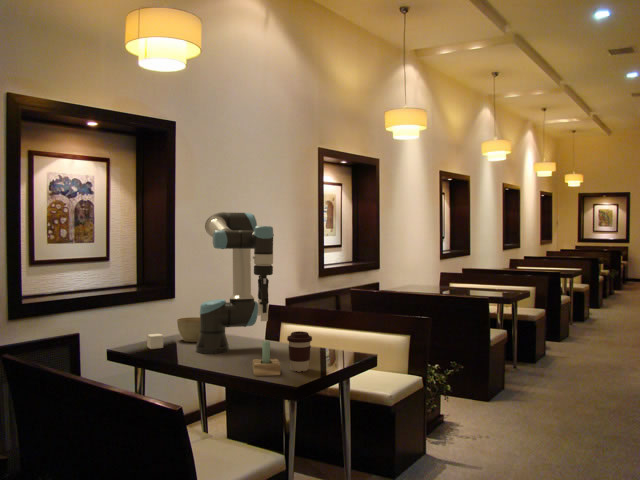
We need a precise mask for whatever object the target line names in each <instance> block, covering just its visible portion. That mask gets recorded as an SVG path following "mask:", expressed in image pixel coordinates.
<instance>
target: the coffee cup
mask: <svg viewBox="0 0 640 480" xmlns="http://www.w3.org/2000/svg"><path fill="white" fill-rule="evenodd" d="M286 340H287V342H288V359H289V369H290V371H292V372H296V371H297V372H299V373H300V372H301V371H303V372H307V371H308V370H309V364H310V359H311V342H313V336H311V335H310V334H309V332H307V331H293V332H291V333H290V335H287V337H286ZM301 373H302V372H301Z"/></svg>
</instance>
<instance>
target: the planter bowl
mask: <svg viewBox="0 0 640 480" xmlns="http://www.w3.org/2000/svg"><path fill="white" fill-rule="evenodd" d="M176 322H177V329H178V332H179V334H180V336H181V338H182V339H183V341H184V342H188V343H189V342H190V343H194V342H196V343H197V342H198V339H199V336H200V316H197V317H196V316H195V317H194V316H193V317H189V316H188V317H181V318H180V317H179V318H177V319H176Z"/></svg>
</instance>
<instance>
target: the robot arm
mask: <svg viewBox="0 0 640 480" xmlns="http://www.w3.org/2000/svg"><path fill="white" fill-rule="evenodd" d="M204 224H205V225H204V229H205V231H206V233H207V234H208V235H209V236H210V237H212V246H213V248H215V249H218V250H219V249H220V250H225V249H226V250H228V249H231V250H232V295H231V296H230V297H229V301H226V299H211V300H207V301H203V302H202V303H201V304H200V306H199V307H200V308H199V317H200V336H199V339H198V341H197V342H196V345H195V352H197V353H200V354H205V355H206V354H209V355H211V354H222V353H225V352H226V353H227V352H228V351H230V344H229V341H228V338H227V336H226V329H227V328H238V327H239V328H241V327H242V328H247V327H253V326H254V325H255V324H256V323H257V319H258V316H259V317H260V322H268V320H269V303H270V302H269V282H270V281H269V278H268V276H272V275H273V274H274V266H273V264H274V236H275V235H274V228H273V226H270V225H268V226H267V225H258V223H257V219H256V217H255V215H254V214H253V213H251V212H222V211H221V212H218V213H214V214H212V215H210V216H209V217H208V218H207V219H206V221H205V223H204ZM252 250H253V254H254V255H253V256H251V255H252V252H251V251H252ZM251 257H252V258H251ZM252 260H253V261H254V262H253V263H254V265H253V275H255V276H258V279H257V299H258V301H255V297H254V296H253V295H252V265H251V261H252Z"/></svg>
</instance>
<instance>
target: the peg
mask: <svg viewBox="0 0 640 480" xmlns="http://www.w3.org/2000/svg"><path fill="white" fill-rule="evenodd" d="M261 347H262V351H261V352H262V355H261V356H262V357H261V358H262V363H270V359H271V341H270V340H269V341H268V340H264V341H262V346H261Z"/></svg>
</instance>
